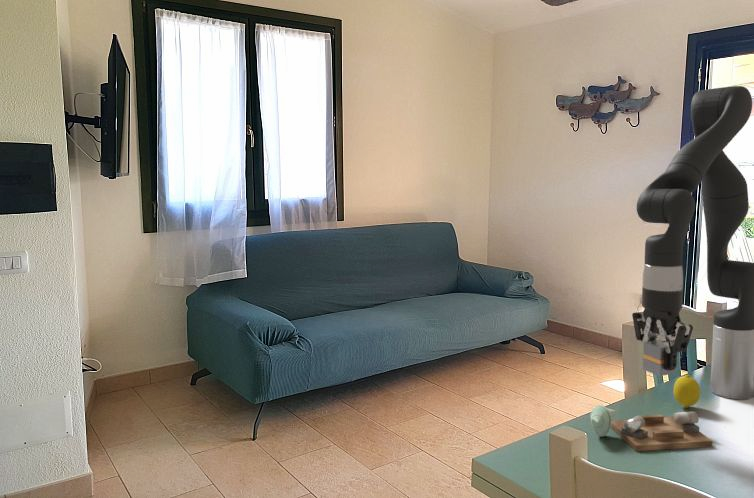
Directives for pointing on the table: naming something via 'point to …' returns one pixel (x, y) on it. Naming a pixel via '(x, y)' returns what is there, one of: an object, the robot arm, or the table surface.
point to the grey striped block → (655, 358)
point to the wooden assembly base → (666, 432)
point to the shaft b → (635, 428)
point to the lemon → (686, 391)
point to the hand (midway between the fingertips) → (659, 365)
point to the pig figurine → (601, 419)
